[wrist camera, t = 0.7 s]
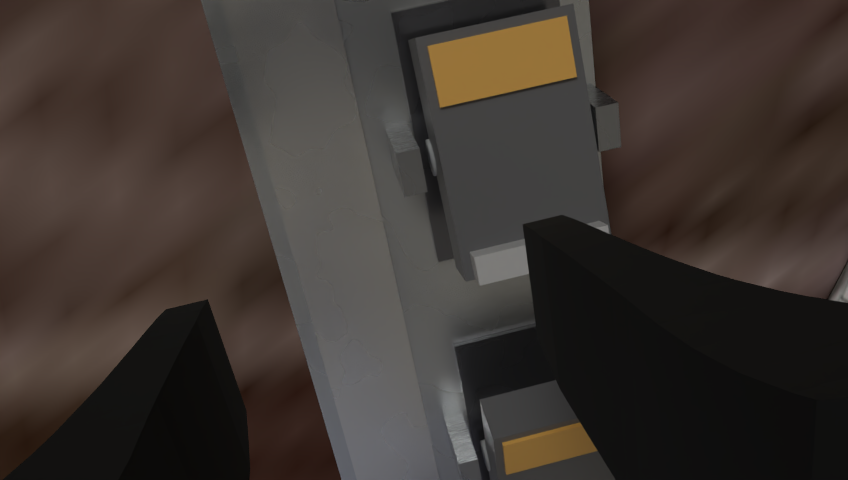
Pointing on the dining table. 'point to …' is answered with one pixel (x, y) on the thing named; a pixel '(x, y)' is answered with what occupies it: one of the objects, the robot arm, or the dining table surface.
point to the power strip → (379, 225)
